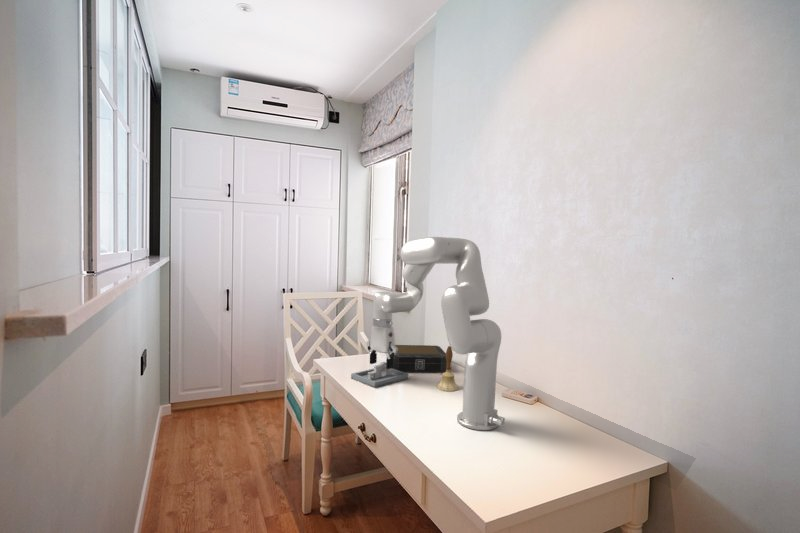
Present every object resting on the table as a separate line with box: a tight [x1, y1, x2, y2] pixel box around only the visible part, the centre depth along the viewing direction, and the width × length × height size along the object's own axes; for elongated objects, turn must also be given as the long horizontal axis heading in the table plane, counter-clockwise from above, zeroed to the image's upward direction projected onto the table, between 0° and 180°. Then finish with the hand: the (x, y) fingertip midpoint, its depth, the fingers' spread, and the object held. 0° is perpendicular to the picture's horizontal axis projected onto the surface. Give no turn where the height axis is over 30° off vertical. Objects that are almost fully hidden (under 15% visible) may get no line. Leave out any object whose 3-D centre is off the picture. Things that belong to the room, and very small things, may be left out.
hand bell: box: [436, 345, 459, 392], centre depth 159 cm, size 8×8×16 cm
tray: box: [350, 367, 409, 389], centre depth 166 cm, size 14×18×2 cm
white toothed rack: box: [368, 361, 392, 380], centre depth 166 cm, size 12×2×6 cm, turn 135°
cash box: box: [386, 344, 447, 374], centre depth 186 cm, size 25×20×8 cm
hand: (381, 365), depth 166 cm, fingers open, 9 cm apart
